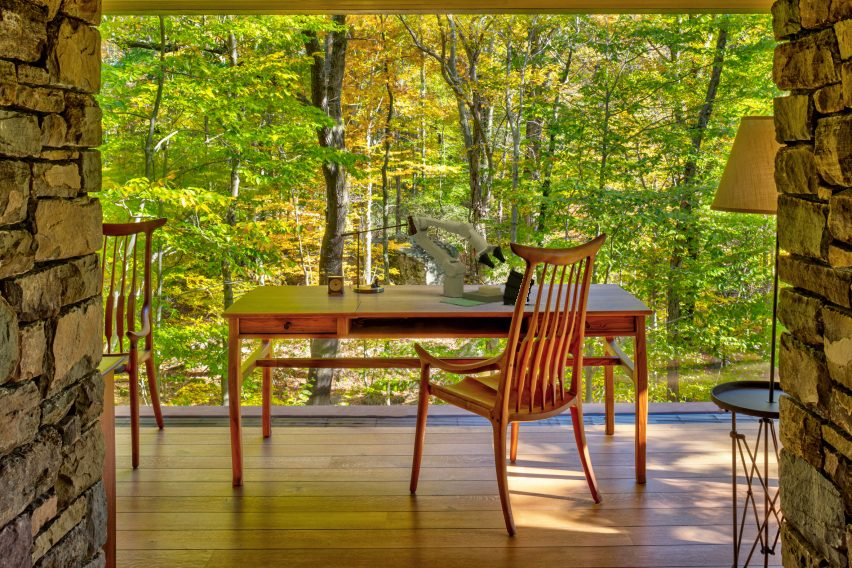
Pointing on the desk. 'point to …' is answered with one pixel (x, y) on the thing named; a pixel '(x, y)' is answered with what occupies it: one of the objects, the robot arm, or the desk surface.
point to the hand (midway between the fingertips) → (499, 264)
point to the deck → (483, 297)
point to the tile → (489, 289)
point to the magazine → (514, 287)
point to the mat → (463, 302)
